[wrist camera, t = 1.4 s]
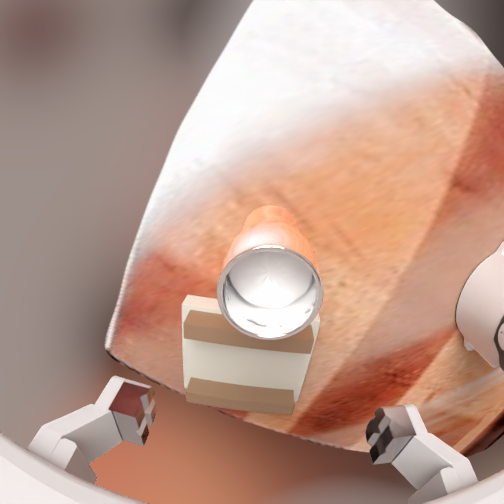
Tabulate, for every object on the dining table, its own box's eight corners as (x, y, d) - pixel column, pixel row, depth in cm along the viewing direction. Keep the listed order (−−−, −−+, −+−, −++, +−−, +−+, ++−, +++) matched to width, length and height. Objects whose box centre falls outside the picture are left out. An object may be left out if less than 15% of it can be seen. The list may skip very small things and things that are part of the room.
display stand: (317, 310, 34) (324, 336, 29) (296, 389, 39) (298, 417, 34) (187, 294, 35) (174, 318, 30) (188, 376, 39) (179, 402, 34)
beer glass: (257, 272, 33) (246, 356, 19) (227, 218, 31) (192, 272, 17) (312, 246, 32) (342, 317, 18) (285, 189, 30) (298, 221, 16)
